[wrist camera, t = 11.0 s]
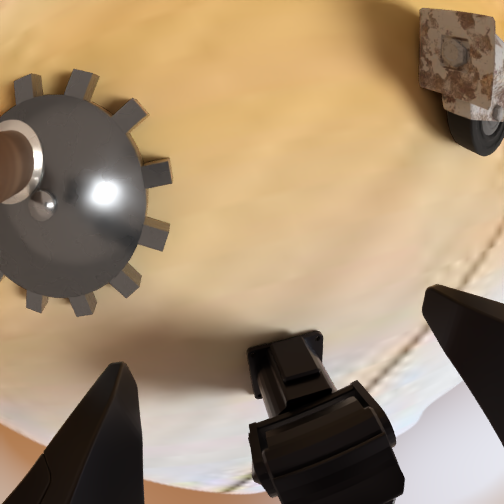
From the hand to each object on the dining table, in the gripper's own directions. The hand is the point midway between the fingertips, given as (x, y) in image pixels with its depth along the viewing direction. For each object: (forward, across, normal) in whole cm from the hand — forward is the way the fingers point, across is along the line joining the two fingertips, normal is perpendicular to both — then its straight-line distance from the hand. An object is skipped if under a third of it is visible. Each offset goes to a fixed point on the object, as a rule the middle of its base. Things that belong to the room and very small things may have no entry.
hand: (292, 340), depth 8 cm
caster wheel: (+13, -21, -8) cm, 26 cm away
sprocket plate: (+13, +11, -3) cm, 17 cm away
